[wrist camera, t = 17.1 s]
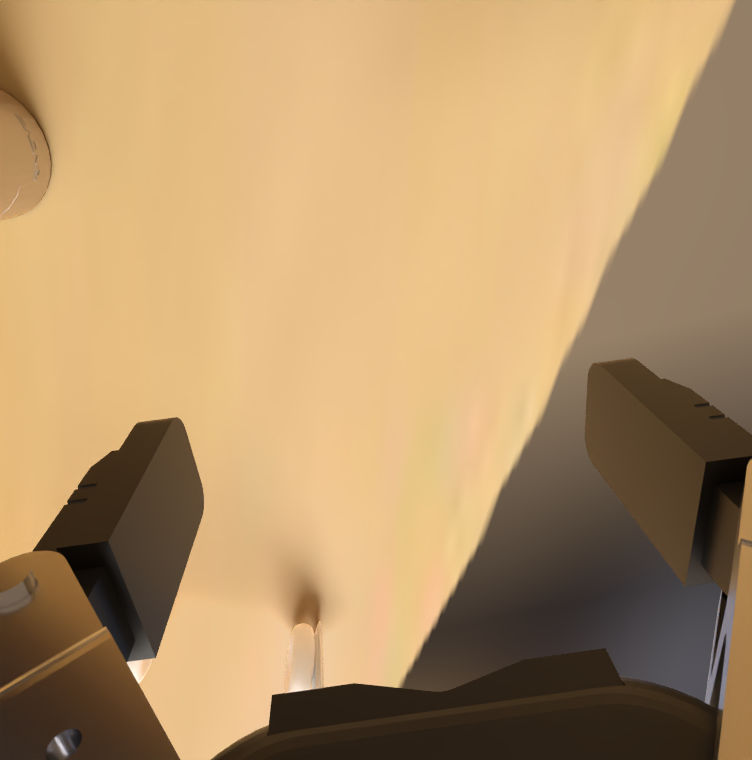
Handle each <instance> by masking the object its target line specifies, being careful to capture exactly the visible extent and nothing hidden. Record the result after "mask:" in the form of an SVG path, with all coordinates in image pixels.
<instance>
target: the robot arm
mask: <svg viewBox="0 0 752 760" xmlns="http://www.w3.org/2000/svg"><path fill="white" fill-rule="evenodd" d="M50 171H51V161H50V155H49V149H48V146H47V143H46V140H45V138H44V135H43V133H42V131H41V129H40V128H39V126H38V124H37V123H36V121H35V119H34V118H33V117H32V116H31V114H30V113H29V112H28V111H27V110H26V108H25V107H24V106H23V105H22V104H20V103H19V102H18V101H17V100H16V99H14V98H13V97H12V96H11V95H9V94H8V93H6V92H4V91H2V90H1V89H0V220H3V219H8V218H12V217H15V216H18V215H22V214H24V213H25V212H27V211H29V210H30V209H32V208H33V207H34V206H35V205H36V204H37V203H38V202H39V201H40V200H41V199H42V197H43V195H44V193H45V191H46V189H47V187H48V183H49V179H50ZM585 423H586V424H585V441H586V448H587V451H588V454H589V457H590V459H591V461H592V463H593V465H594V466H595V468H596V469H597V470H598V472H599V473H600V474H601V475H602V477H603V478H604V479H605V481H606V482H607V483H608V485H609V486H610V487H611V489H612V490H613V491H614V493H615V494H616V495H617V497H618V498H619V499H620V501H621V502H622V503H623V505H624V506H625V507H626V509H627V510H628V511H629V513H630V514H631V515H632V517H633V518H634V519H635V521H636V522H637V523H638V525H639V526H640V527H641V528H642V530H643V531H644V533H645V534H646V535H647V536H648V538H649V539H650V540H651V542H652V543H653V544H654V546H655V547H656V548H657V550H658V551H659V552H660V554H661V555H662V556H663V558H664V559H665V560H666V562H667V563H668V564H669V566H670V567H671V568H672V570H673V571H674V572H675V574H676V575H677V576H678V578H679V579H680V580H681V582H682V583H683V584H684V586H692V585H699V584H707V583H714V582H716V583H717V585H718V586H719V587H720V588H721V589H722V592H721V597H720V602H719V606H718V613H717V621H716V628H715V635H714V642H713V650H712V656H711V664H710V670H709V677H708V685H707V692H706V698H705V702H703V701H701V700H699V699H697V698H695V697H692V696H690V695H687V694H685V693H682V692H680V691H678V690H675V689H672V688H669V687H666V686H663V685H659V684H656V683H653V682H649V681H644V680H639V679H635V678H629V677H622V676H619V674H618V673H617V670H616V669H615V666H614V665H613V663H612V661H611V659H610V657H609V655H608V653H607V651H606V649H605V648H604V649H597V650H590V651H583V652H575V653H568V654H561V655H554V656H547V657H540V658H533V659H525V660H522V661H520V662H517V663H515V664H512V665H510V666H507V667H505V668H503V669H500V670H498V671H495V672H493V673H490V674H488V675H486V676H483V677H481V678H478V679H476V680H473V681H471V682H468V683H466V684H464V685H461V686H459V687H456V688H454V689H451V690H448V691H443V692H431V691H421V690H412V689H403V688H393V687H384V686H374V685H364V684H355V683H354V684H347V685H340V686H333V687H326V688H319V689H311V690H304V691H297V692H290V693H283V694H276V695H272V701H271V711H270V720H269V725H268V726H266V727H263V728H261V729H258V730H256V731H254V732H253V733H251V734H249V735H247V736H245V737H243V738H241V739H240V740H238V741H236V742H235V743H233V744H232V745H230V746H229V747H227V748H226V749H224V750H223V751H221V752H220V753H219V754H217V755H216V756H215V757H214V758H212V759H211V760H752V435H751V434H750V433H748V432H747V431H746V430H745V429H743V428H742V427H741V426H739V425H738V424H737V423H735V422H734V421H733V420H731V419H730V418H729V417H728V418H725V416H724V414H723V413H722V412H721V411H719V410H718V409H717V408H715V407H714V406H710V405H709V402H707V401H706V400H705V399H703V398H702V397H701V396H699V395H698V394H697V393H695V392H694V391H693V390H691V389H689V388H687V387H684V386H682V385H679V384H676V383H674V382H672V381H669V380H666V379H660V378H659V377H658V376H656V375H655V374H654V373H652V372H651V371H650V370H649V369H647V368H646V367H645V366H644V365H642V364H641V363H640V362H639V361H637V360H636V359H633V358H629V359H622V360H614V361H607V362H599V363H594V364H592V365H591V367H590V369H589V373H588V385H587V403H586V421H585ZM67 502H68V504H67V505H64V507H63V508H62V510H61V511H60V512H59V514H58V515H57V517H56V518H55V520H54V521H53V522H52V524H51V525H50V527H49V528H48V530H47V531H46V533H45V534H44V535H43V537H42V538H41V540H40V541H39V543H38V544H37V546H36V547H35V548H34V550H33V551H32V552H29V553H25V554H21V555H19V556H16V557H13V558H10V559H8V560H6V561H4V562H1V563H0V760H180V758H179V756H178V755H177V753H176V751H175V749H174V747H173V745H172V744H171V742H170V740H169V738H168V736H167V735H166V733H165V731H164V729H163V727H162V726H161V724H160V722H159V720H158V718H157V717H156V715H155V713H154V711H153V709H152V708H151V706H150V704H149V702H148V700H147V699H146V697H145V695H144V693H143V691H142V690H141V688H140V686H139V684H138V682H137V681H136V679H135V677H134V675H133V673H132V671H131V670H130V668H129V666H128V664H127V662H130V661H137V660H144V659H152V658H156V656H157V652H158V649H159V646H160V643H161V640H162V637H163V634H164V631H165V628H166V625H167V622H168V619H169V616H170V613H171V610H172V607H173V604H174V601H175V598H176V595H177V592H178V589H179V585H180V582H181V579H182V576H183V573H184V570H185V567H186V564H187V561H188V558H189V555H190V552H191V549H192V546H193V543H194V540H195V537H196V534H197V531H198V528H199V525H200V522H201V518H202V515H203V509H204V495H203V488H202V483H201V480H200V477H199V473H198V470H197V466H196V463H195V460H194V456H193V453H192V450H191V446H190V443H189V440H188V436H187V433H186V430H185V427H184V424H183V423H182V421H181V420H180V419H179V418H177V417H176V418H168V419H161V420H153V421H146V422H139V423H137V424H136V425H135V426H134V428H133V429H132V431H131V432H130V434H129V435H128V437H127V439H126V440H125V442H124V443H123V445H122V446H121V448H120V449H119V450H116V451H111V452H110V453H109V454H108V455H106V456H105V457H104V458H103V459H101V460H100V461H99V462H97V463H96V464H95V465H94V466H92V467H91V468H90V469H89V471H88V472H87V474H86V475H85V476H84V478H83V479H82V481H81V482H80V484H79V485H78V489H77V490H75V491H74V492H73V494H72V495H71V497H70V498H69V499H68V501H67Z"/></svg>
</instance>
